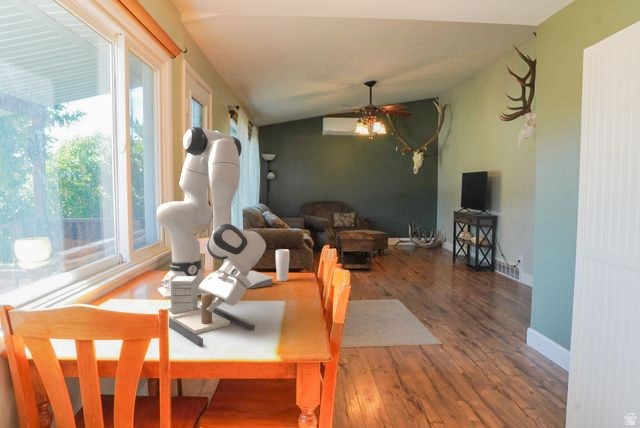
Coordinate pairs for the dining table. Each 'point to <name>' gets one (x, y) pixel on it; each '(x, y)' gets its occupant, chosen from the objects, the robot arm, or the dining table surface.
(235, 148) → the robot arm
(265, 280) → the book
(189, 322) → the board with brown peg
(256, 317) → the dining table surface
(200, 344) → the dark grey parallel rails
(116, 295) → the dining table surface
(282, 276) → the white piece
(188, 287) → the supplement box
